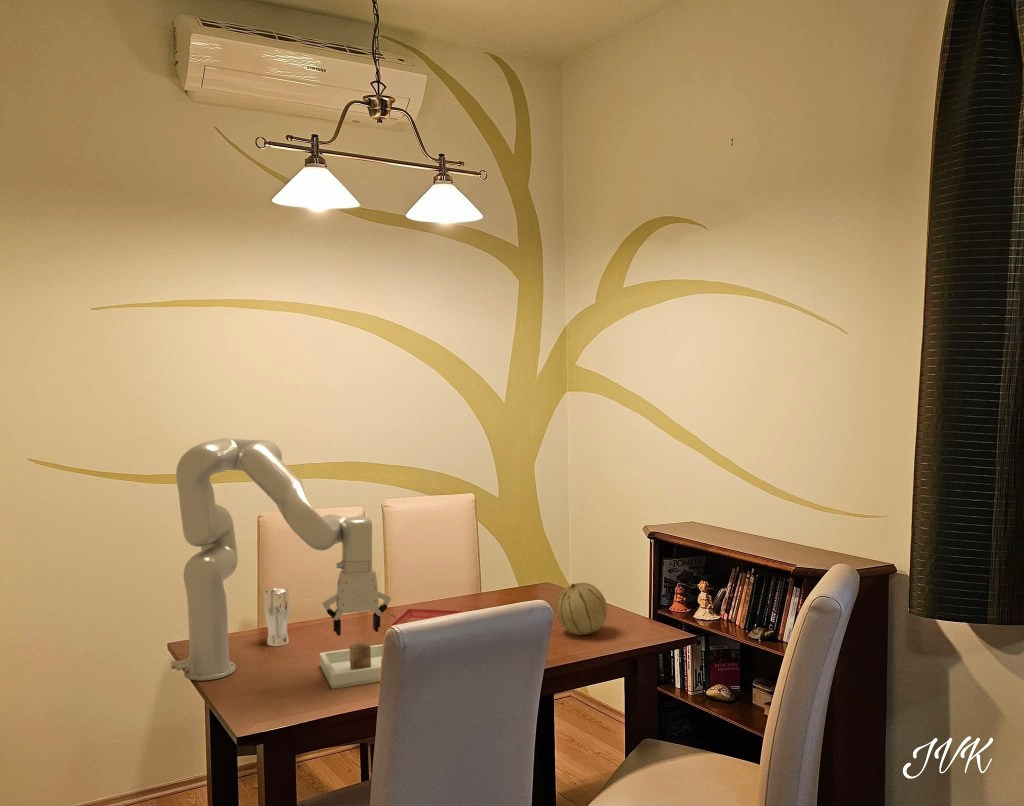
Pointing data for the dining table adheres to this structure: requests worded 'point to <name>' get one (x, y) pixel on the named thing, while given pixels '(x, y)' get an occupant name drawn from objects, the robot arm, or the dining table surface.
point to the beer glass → (277, 615)
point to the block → (360, 656)
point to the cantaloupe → (581, 608)
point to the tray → (341, 673)
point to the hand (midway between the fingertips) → (357, 632)
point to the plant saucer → (421, 614)
